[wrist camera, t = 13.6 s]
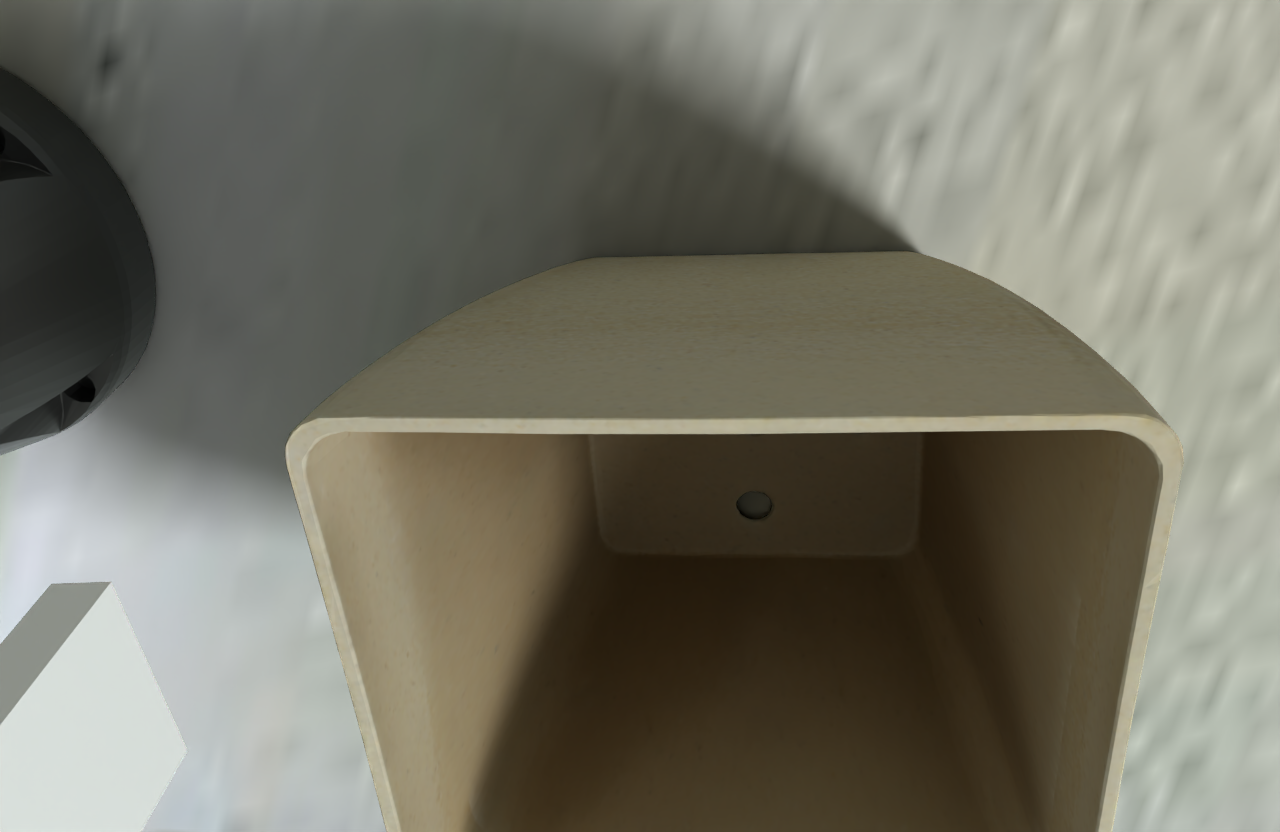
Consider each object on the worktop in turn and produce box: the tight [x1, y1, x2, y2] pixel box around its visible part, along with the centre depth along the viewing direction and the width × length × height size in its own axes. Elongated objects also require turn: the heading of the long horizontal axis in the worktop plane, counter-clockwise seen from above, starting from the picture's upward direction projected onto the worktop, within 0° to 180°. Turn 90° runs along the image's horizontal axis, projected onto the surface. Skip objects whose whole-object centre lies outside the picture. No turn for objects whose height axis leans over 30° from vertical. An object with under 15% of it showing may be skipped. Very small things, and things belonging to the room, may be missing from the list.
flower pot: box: [285, 251, 1184, 832], centre depth 36 cm, size 19×19×17 cm
